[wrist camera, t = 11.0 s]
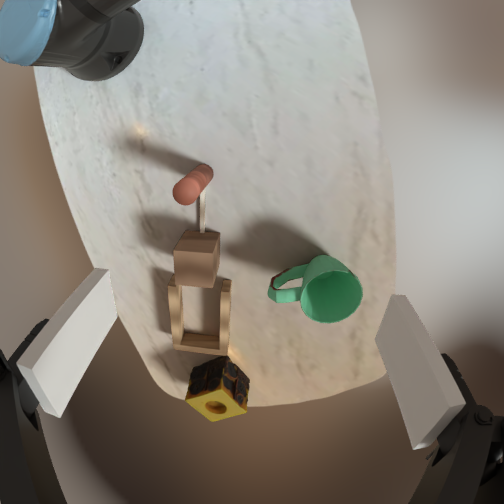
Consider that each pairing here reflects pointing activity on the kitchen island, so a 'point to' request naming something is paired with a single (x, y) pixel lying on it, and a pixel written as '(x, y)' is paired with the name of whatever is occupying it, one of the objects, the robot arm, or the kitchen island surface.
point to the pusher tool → (196, 235)
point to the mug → (320, 289)
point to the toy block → (218, 389)
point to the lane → (199, 341)
